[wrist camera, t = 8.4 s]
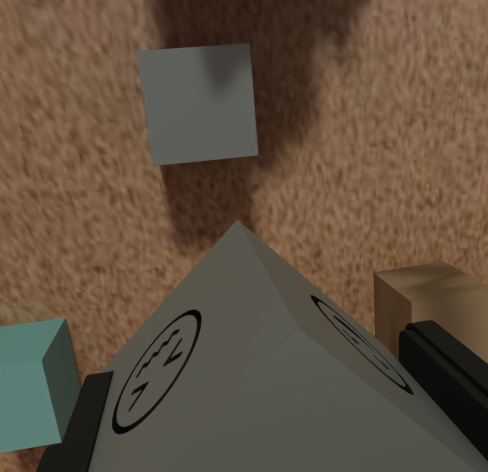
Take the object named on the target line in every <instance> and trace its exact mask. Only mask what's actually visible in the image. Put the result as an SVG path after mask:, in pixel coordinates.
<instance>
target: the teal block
mask: <svg viewBox="0 0 488 472" xmlns="http://www.w3.org/2000/svg"><path fill="white" fill-rule="evenodd" d="M80 389H81V387H80V382H79V378H78V373H77V369H76V364H75V360H74V355H73V350H72V346H71V341H70V337H69V332H68V328H67V323H66V318H60V319H53V320H46V321H39V322H32V323H25V324H18V325H11V326H4V327H0V453H4V452H9V451H15V450H21V449H26V448H32V447H38V446H44V445H49V444H55V443H61V442H62V439H63V436H64V434H65V431H66V428H67V425H68V422H69V420H70V417H71V414H72V411H73V408H74V406H75V403H76V400H77V397H78V394H79V392H80Z"/></svg>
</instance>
